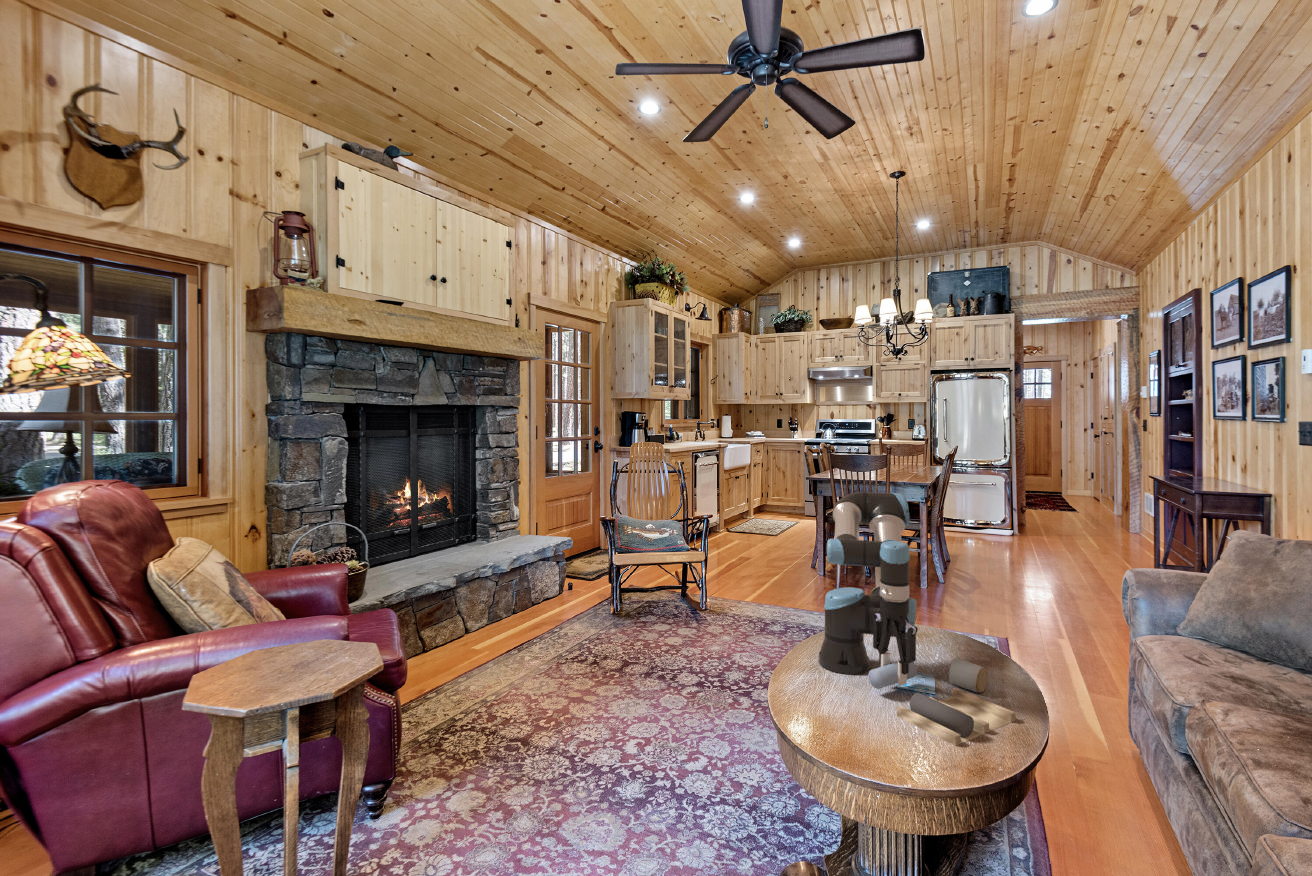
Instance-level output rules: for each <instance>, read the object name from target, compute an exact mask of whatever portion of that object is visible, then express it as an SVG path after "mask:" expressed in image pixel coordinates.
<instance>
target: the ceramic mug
mask: <svg viewBox="0 0 1312 876" xmlns="http://www.w3.org/2000/svg"><path fill="white" fill-rule="evenodd" d="M948 673H949V674H948V679H949V682H950V684H951V685H953V686H955V687H957V688H958V687H959V688H962V689H965V690H968V691H971V692H974V693H979V694H981V693H982V692H984V691H985V689H986V687H987V684H988V680H989V676H988V671H987V670H986V668H985V667H983V666H980V665H979V664H975V663H973V662H970V661H967V660H966V659H962V658H960V657H955V658H954V659H953V660H952V662H951V663H950V666H949V671H948Z"/></svg>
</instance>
